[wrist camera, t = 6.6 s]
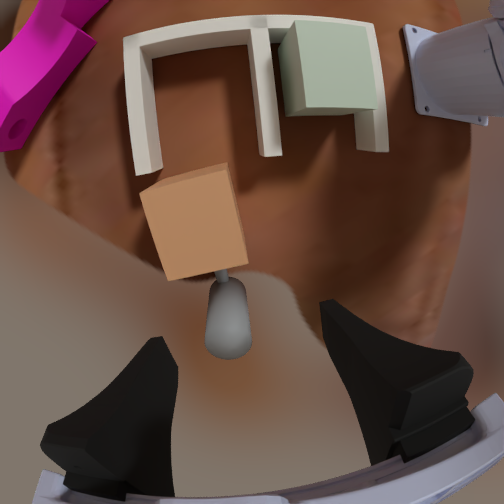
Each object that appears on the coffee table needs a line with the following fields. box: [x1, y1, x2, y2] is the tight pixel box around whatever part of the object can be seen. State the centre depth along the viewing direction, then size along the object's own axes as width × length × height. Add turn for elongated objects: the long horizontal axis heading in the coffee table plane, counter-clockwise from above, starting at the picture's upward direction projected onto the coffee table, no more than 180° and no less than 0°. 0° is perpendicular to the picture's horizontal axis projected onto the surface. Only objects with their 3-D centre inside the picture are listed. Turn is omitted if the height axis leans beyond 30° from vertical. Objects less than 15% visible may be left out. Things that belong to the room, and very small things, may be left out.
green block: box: [278, 20, 378, 116], centre depth 14 cm, size 4×5×6 cm
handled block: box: [139, 162, 252, 360], centre depth 18 cm, size 4×11×6 cm, turn 12°
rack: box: [123, 15, 389, 176], centre depth 15 cm, size 16×9×3 cm, turn 96°
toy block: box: [0, 0, 109, 152], centre depth 10 cm, size 15×6×8 cm, turn 134°
